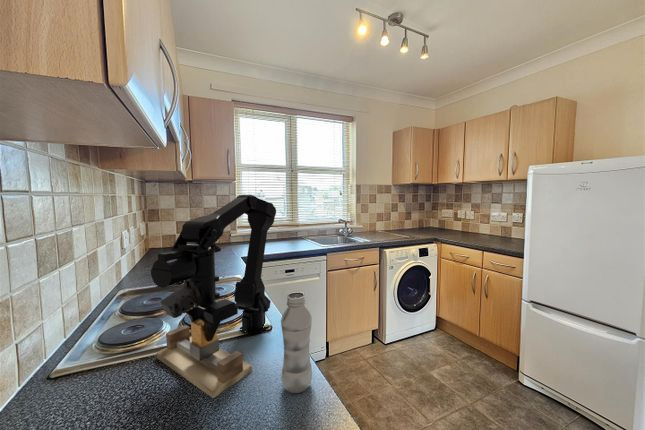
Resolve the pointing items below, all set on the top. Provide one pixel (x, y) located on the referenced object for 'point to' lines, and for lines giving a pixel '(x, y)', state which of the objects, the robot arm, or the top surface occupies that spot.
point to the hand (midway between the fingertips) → (204, 338)
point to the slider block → (202, 341)
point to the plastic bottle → (296, 344)
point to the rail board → (202, 364)
